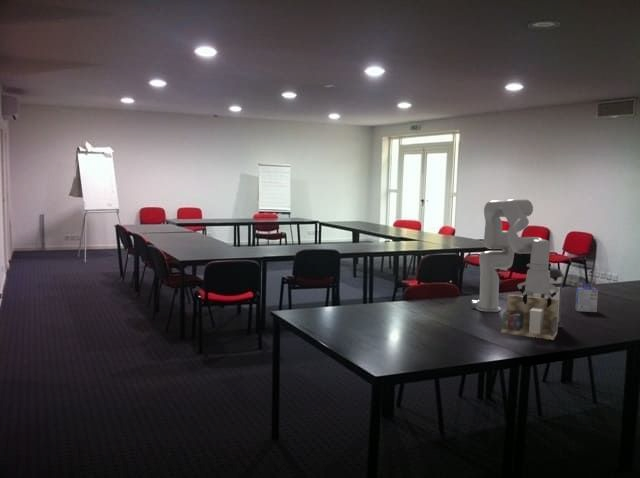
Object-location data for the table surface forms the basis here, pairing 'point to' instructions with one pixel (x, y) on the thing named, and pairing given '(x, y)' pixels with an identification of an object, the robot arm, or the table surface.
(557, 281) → the coffee press
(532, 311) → the boxed book
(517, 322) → the bookshelf
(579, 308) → the ink cartridge box
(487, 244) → the robot arm
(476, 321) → the table surface
